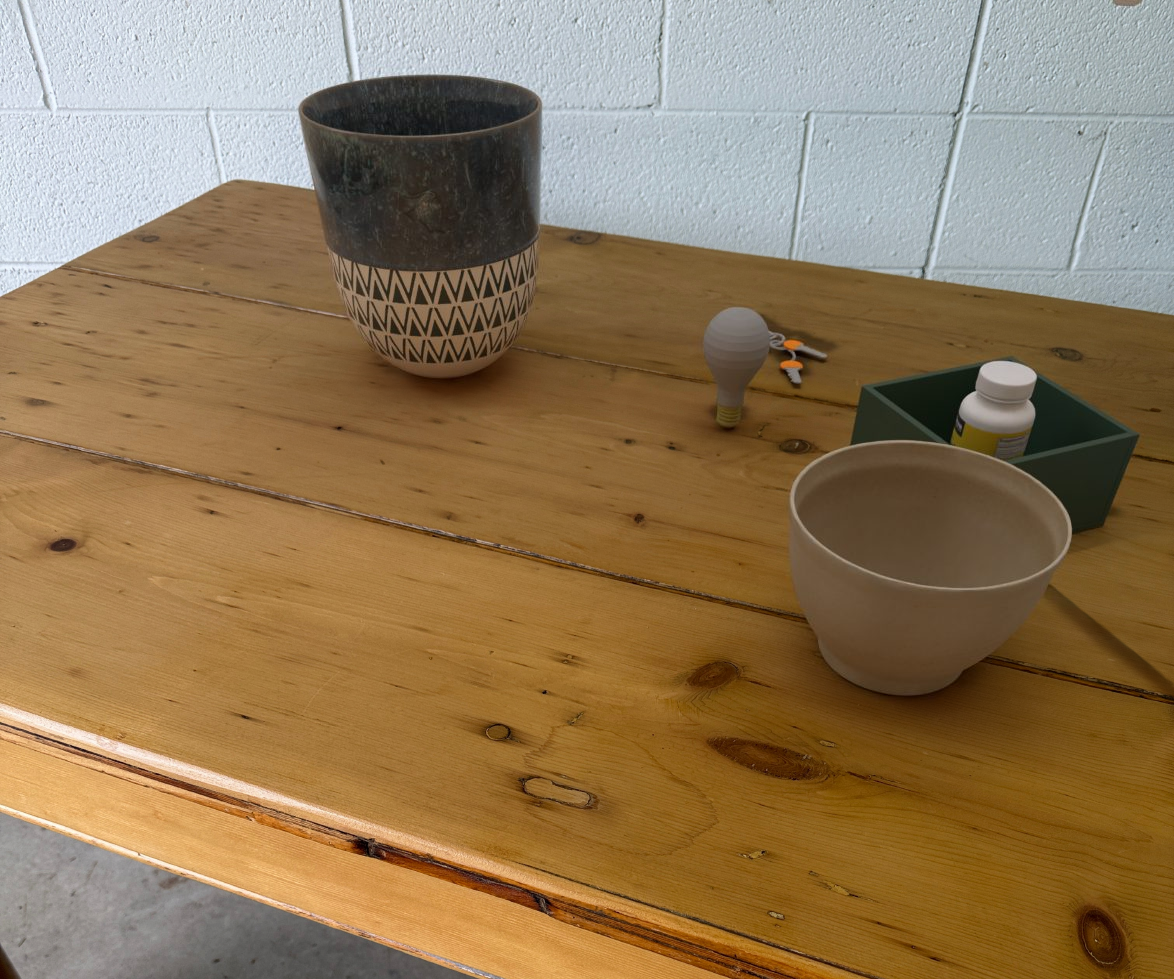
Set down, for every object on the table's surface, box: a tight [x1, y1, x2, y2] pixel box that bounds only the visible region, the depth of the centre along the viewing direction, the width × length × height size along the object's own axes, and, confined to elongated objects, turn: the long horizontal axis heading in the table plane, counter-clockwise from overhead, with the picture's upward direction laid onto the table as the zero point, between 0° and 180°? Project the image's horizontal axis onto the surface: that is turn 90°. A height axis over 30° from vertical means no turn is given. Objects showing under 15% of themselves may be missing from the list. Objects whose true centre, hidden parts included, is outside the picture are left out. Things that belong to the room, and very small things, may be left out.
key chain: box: [769, 330, 828, 385], centre depth 101 cm, size 13×7×1 cm, turn 36°
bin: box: [849, 355, 1141, 535], centre depth 80 cm, size 14×14×8 cm
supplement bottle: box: [950, 361, 1037, 461], centre depth 79 cm, size 5×5×10 cm
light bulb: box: [702, 306, 771, 429], centre depth 88 cm, size 6×6×10 cm
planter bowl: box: [788, 440, 1073, 696], centre depth 65 cm, size 16×16×11 cm
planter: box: [297, 73, 543, 379], centre depth 92 cm, size 20×20×21 cm
